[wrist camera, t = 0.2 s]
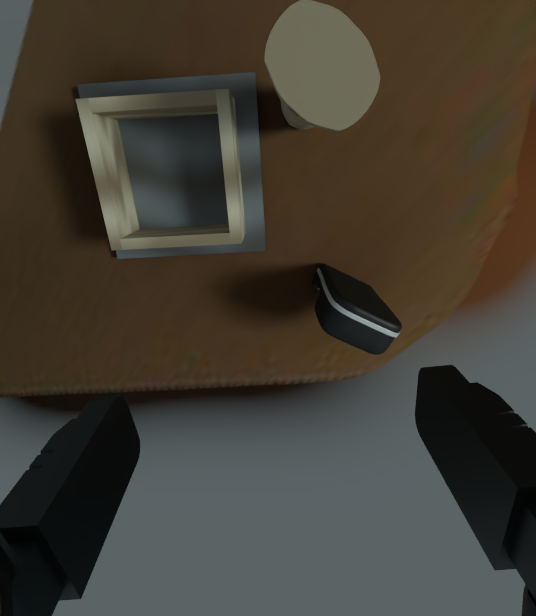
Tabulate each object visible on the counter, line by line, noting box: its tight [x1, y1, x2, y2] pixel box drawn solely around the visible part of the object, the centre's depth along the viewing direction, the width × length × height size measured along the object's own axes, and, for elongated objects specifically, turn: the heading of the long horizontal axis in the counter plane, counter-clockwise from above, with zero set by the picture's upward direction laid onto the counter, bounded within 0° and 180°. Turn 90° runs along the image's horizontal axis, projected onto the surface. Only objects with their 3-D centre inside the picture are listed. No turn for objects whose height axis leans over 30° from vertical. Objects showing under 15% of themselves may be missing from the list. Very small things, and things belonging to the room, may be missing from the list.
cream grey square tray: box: [76, 72, 266, 259], centre depth 31 cm, size 16×16×6 cm
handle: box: [265, 0, 380, 132], centre depth 25 cm, size 5×6×15 cm
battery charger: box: [313, 264, 402, 355], centre depth 34 cm, size 7×4×11 cm, turn 64°
